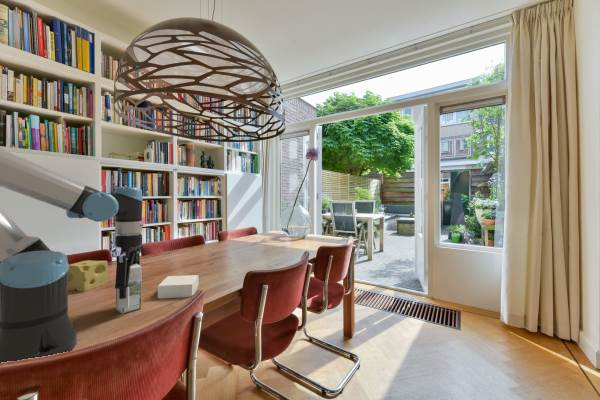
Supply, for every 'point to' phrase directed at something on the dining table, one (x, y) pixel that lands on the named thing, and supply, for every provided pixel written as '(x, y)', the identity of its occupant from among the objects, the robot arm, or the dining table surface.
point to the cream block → (178, 286)
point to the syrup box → (132, 290)
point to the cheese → (87, 275)
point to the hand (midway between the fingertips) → (128, 302)
